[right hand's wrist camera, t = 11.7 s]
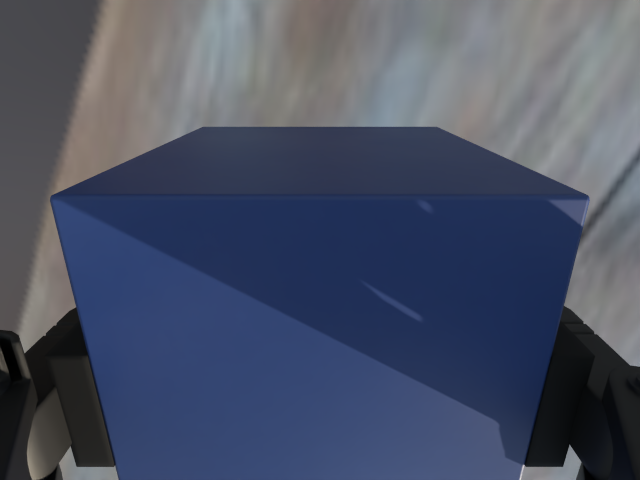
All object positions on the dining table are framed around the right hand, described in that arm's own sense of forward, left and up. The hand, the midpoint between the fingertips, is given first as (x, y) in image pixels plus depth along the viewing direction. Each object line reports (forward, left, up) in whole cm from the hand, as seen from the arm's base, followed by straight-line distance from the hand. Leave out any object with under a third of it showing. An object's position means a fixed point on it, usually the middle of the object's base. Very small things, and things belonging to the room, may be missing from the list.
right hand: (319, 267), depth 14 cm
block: (0, 0, -3) cm, 3 cm away
